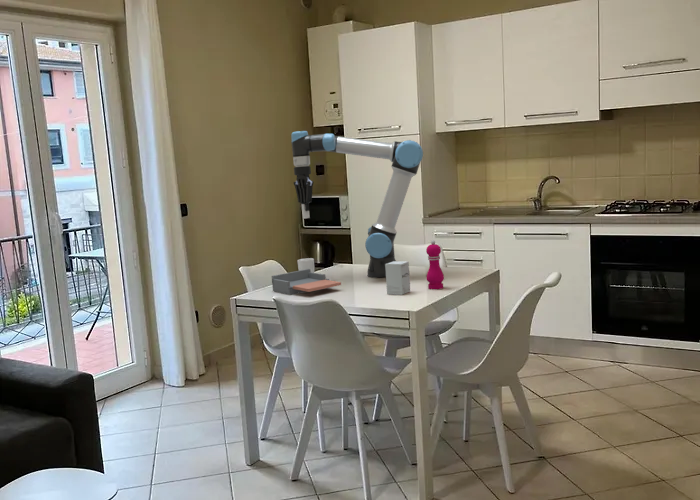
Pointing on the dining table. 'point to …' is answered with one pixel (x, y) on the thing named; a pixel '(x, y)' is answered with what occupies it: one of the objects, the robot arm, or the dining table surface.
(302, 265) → the white cup
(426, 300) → the dining table surface
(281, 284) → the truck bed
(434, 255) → the pepper mill
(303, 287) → the panel
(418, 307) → the dining table surface
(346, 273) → the dining table surface
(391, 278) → the supplement box
